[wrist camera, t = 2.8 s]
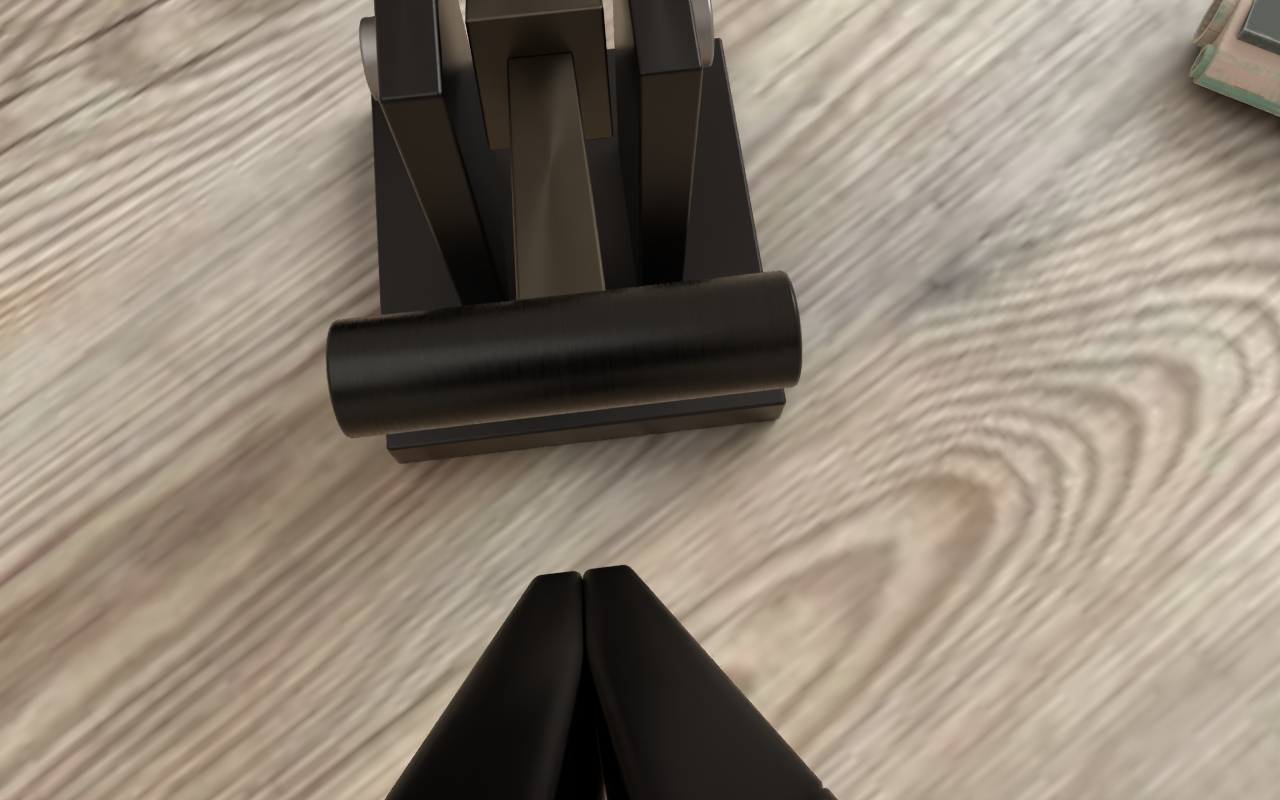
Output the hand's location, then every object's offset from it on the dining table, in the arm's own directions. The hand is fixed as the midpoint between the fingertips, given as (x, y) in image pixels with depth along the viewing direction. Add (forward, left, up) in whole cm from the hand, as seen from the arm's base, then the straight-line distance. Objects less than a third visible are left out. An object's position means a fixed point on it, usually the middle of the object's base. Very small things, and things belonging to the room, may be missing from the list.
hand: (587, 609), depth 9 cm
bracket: (+11, +2, -14) cm, 17 cm away
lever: (+7, +1, -5) cm, 9 cm away
